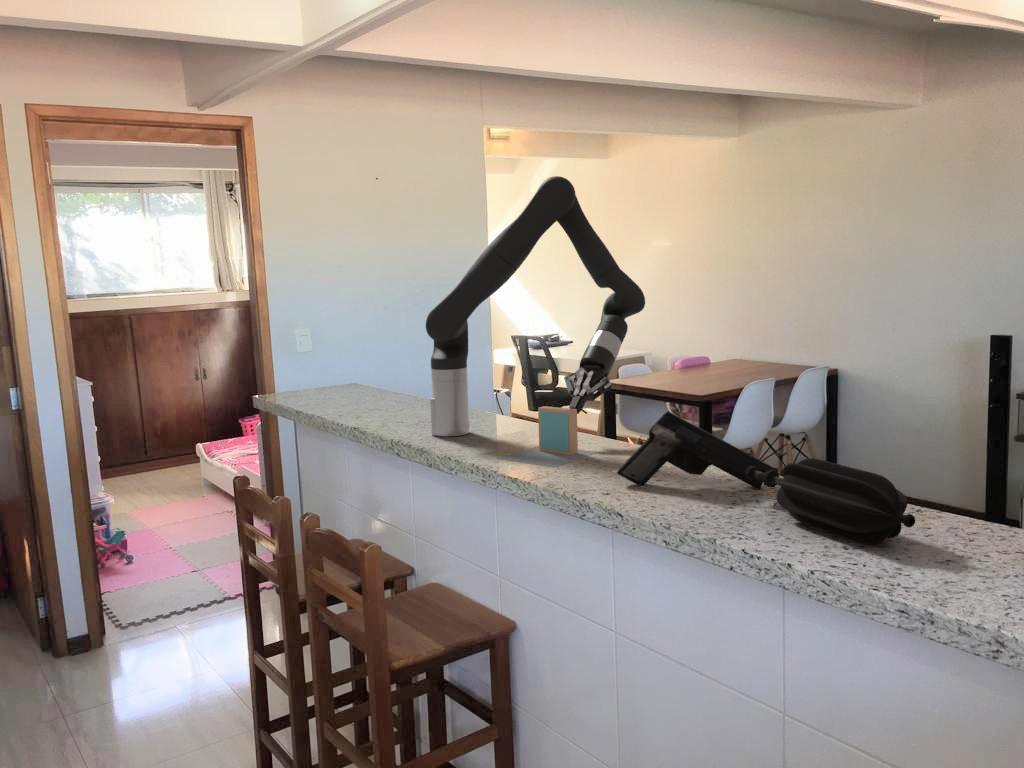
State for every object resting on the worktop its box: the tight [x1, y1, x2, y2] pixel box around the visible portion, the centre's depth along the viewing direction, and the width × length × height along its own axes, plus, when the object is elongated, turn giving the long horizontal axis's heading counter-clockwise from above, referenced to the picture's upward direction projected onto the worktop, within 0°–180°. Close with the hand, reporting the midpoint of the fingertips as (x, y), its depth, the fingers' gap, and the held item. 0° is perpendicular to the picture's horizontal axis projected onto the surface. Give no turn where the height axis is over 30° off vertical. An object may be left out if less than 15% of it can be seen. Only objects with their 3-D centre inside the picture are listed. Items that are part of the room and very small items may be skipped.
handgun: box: [616, 410, 773, 490], centre depth 158 cm, size 2×24×15 cm, turn 78°
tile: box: [537, 405, 579, 455], centre depth 190 cm, size 9×3×10 cm, turn 51°
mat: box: [496, 445, 600, 468], centre depth 187 cm, size 16×17×1 cm
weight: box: [745, 457, 916, 545], centre depth 132 cm, size 34×10×10 cm, turn 24°
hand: (573, 411), depth 194 cm, fingers closed
